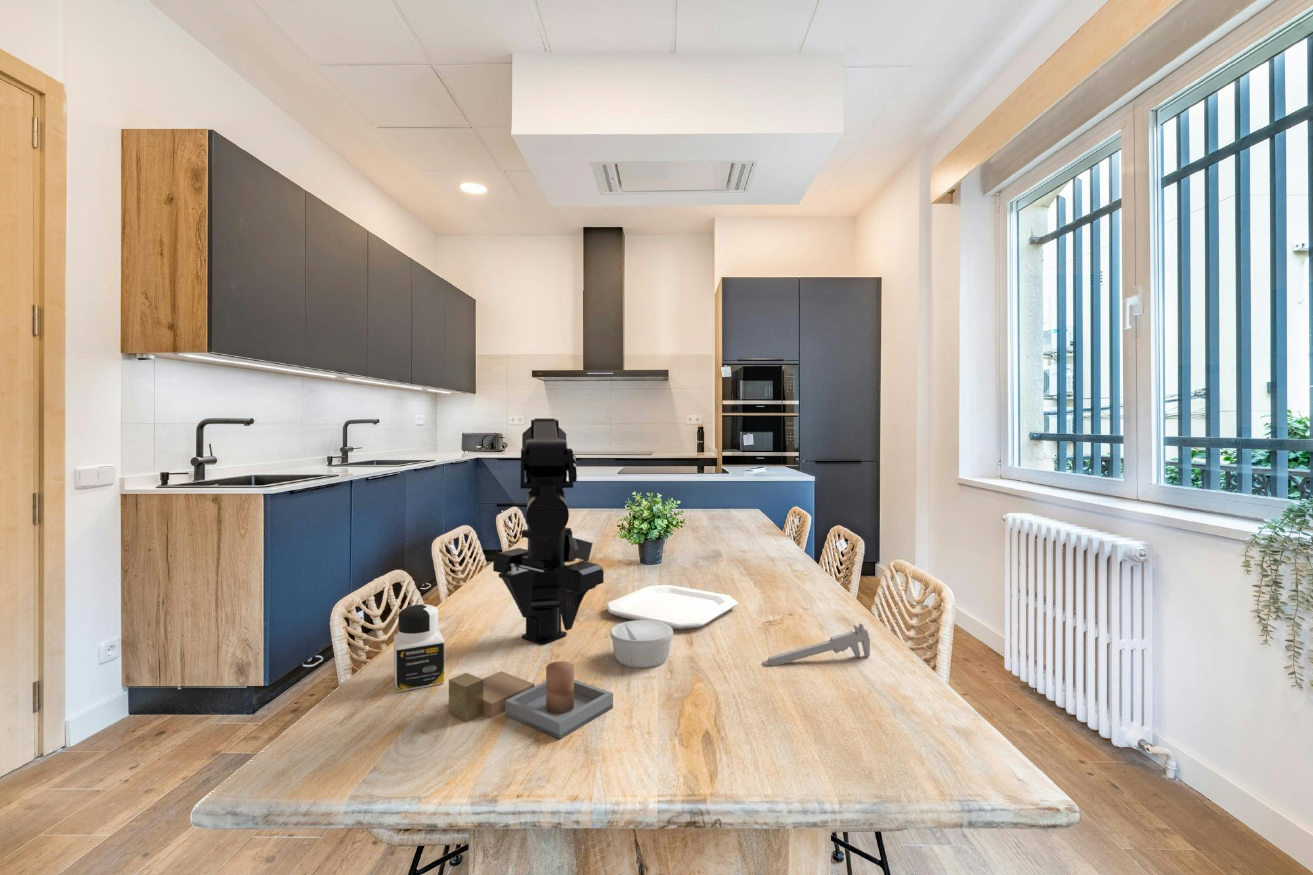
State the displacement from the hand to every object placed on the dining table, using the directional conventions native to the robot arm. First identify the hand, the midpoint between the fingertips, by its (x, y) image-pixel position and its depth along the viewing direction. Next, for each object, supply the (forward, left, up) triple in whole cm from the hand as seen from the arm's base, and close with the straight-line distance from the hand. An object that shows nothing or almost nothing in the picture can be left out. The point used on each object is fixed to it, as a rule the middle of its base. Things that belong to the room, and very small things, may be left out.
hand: (546, 622), depth 90 cm
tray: (+2, +5, -11) cm, 13 cm away
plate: (-47, -8, -12) cm, 49 cm away
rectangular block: (+11, -5, -11) cm, 17 cm away
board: (+5, -5, -12) cm, 14 cm away
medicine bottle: (+8, -21, -12) cm, 26 cm away
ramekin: (-21, +3, -12) cm, 24 cm away
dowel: (+2, +5, -11) cm, 12 cm away
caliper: (-38, +29, -12) cm, 49 cm away
